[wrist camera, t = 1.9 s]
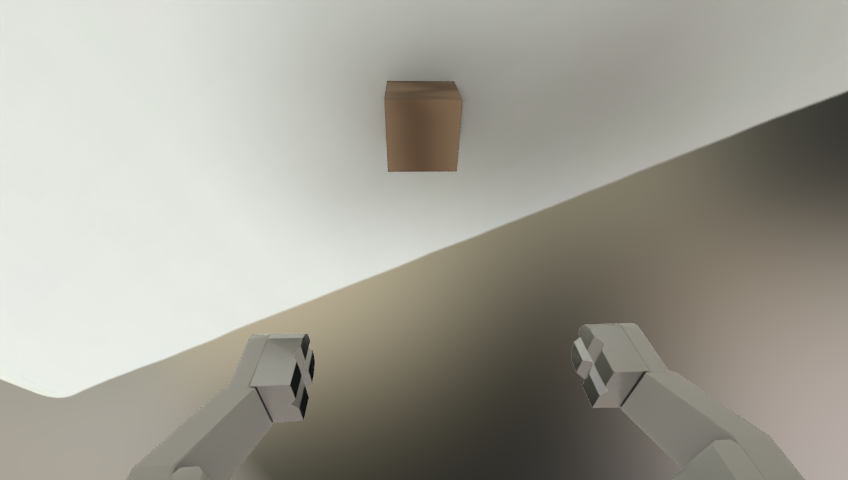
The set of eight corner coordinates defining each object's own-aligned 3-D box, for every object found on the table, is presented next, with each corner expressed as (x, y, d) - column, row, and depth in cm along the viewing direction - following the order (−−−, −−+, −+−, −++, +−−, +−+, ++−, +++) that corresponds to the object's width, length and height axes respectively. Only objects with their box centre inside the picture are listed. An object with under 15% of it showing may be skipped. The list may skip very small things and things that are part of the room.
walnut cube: (453, 81, 26) (462, 100, 22) (449, 144, 29) (456, 171, 25) (387, 80, 26) (384, 99, 22) (390, 144, 29) (388, 171, 25)
